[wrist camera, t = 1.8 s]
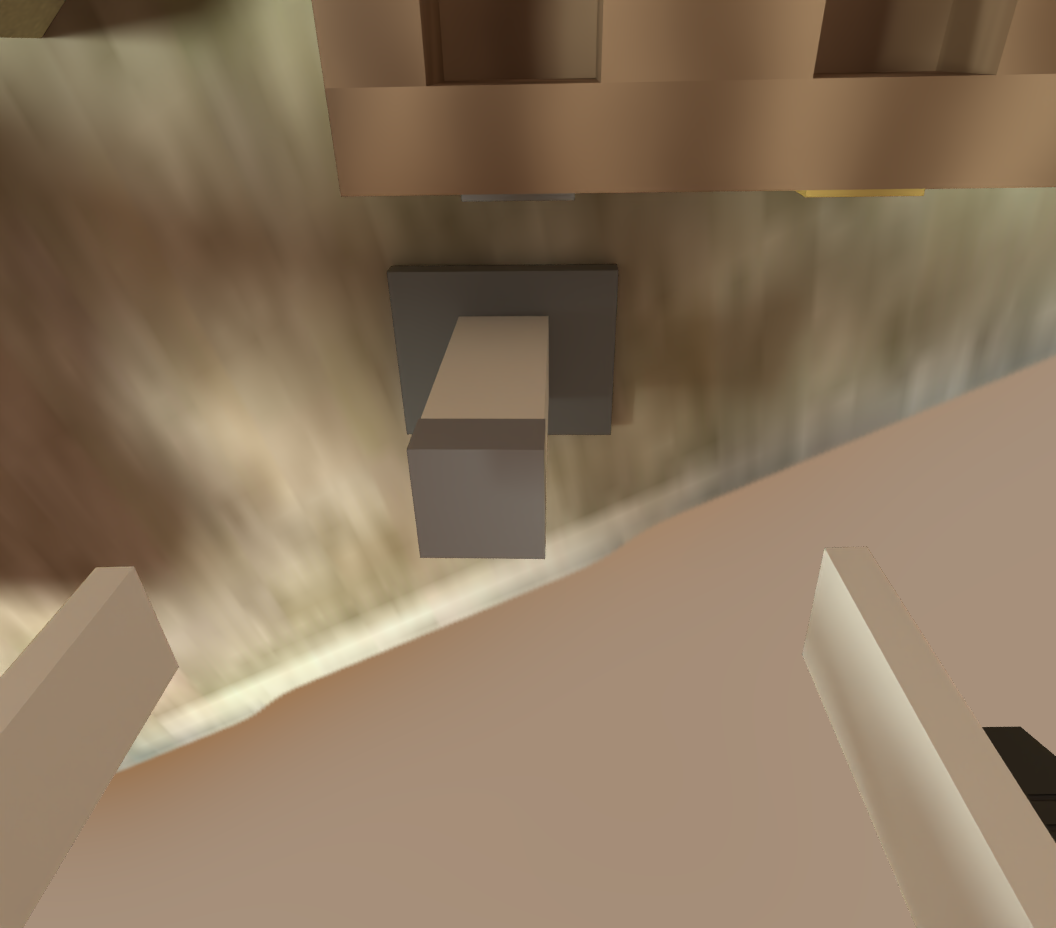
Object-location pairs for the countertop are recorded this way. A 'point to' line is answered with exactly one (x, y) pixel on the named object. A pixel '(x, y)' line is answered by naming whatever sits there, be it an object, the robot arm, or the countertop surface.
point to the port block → (688, 96)
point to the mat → (513, 290)
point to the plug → (485, 443)
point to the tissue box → (27, 17)
